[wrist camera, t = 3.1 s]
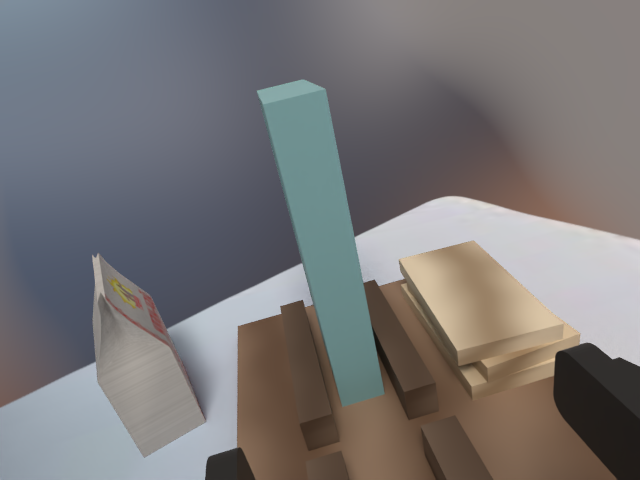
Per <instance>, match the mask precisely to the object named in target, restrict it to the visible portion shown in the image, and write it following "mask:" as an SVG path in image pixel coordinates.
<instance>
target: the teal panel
mask: <svg viewBox="0 0 640 480" xmlns="http://www.w3.org/2000/svg"><path fill="white" fill-rule="evenodd" d="M257 94H258V97H259V101H260V105H261V109H262V113H263V116H264V120H265V124H266V128H267V131H268V135H269V139H270V142H271V146H272V150H273V154H274V158H275V162H276V165H277V169H278V173H279V177H280V180H281V184H282V188H283V191H284V195H285V199H286V203H287V207H288V210H289V214H290V218H291V222H292V226H293V229H294V233H295V237H296V240H297V244H298V248H299V252H300V255H301V259H302V263H303V267H304V271H305V274H306V278H307V282H308V286H309V290H310V293H311V297H312V301H313V305H314V308H315V312H316V316H317V320H318V323H319V327H320V331H321V335H322V338H323V342H324V345H325V349H326V352H327V356H328V359H329V363H330V366H331V369H332V373H333V376H334V380H335V383H336V387H337V390H338V394H339V397H340V400H341V404H342V407H344V406H347V405H351V404H354V403H357V402H361V401H364V400H367V399H371V398H374V397H377V396H380V395H384V394H385V393H384V387H383V382H382V377H381V372H380V367H379V362H378V357H377V351H376V346H375V341H374V336H373V331H372V326H371V321H370V315H369V310H368V305H367V300H366V295H365V290H364V285H363V279H362V274H361V269H360V264H359V259H358V254H357V249H356V243H355V238H354V233H353V228H352V223H351V218H350V213H349V207H348V202H347V197H346V192H345V187H344V182H343V177H342V172H341V166H340V161H339V156H338V151H337V146H336V141H335V136H334V130H333V125H332V120H331V115H330V110H329V105H328V99H327V94H326V90H325V89H324V88H322V87H320V86H317V85H315V84H312V83H310V82H308V81H306V80H299V81H295V82H291V83H287V84H283V85H279V86H275V87H270V88H267V89H263V90H258V91H257Z"/></svg>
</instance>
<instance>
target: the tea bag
mask: <svg viewBox="0 0 640 480" xmlns="http://www.w3.org/2000/svg"><path fill="white" fill-rule="evenodd" d="M92 257H93V266H94V274H95V294H94V309H93V332H94V344H95V356H96V368H97V380H98V384H99V385H100V387H101V388H102V390H103V392H104V393H105V395H106V397H107V398H108V400H109V401H110V403H111V405H112V406H113V408H114V410H115V411H116V413H117V414H118V416H119V418H120V419H121V421H122V423H123V424H124V426H125V427H126V429H127V431H128V432H129V434H130V435H131V437H132V439H133V440H134V442H135V444H136V445H137V447H138V448H139V450H140V452H141V453H142V455H143V457H144V458H145V457H146V456H148V455H150V454H152V453H153V452H155V451H157V450H158V449H160V448H162V447H164V446H165V445H167V444H169V443H171V442H172V441H174V440H176V439H178V438H179V437H181V436H183V435H184V434H186V433H188V432H190V431H191V430H193V429H195V428H197V427H198V426H200V425H202V424H203V423H205V422H206V421H205V418H204V416H203V413H202V411H201V408H200V406H199V403H198V401H197V398H196V396H195V393H194V391H193V388H192V386H191V383H190V381H189V378H188V376H187V373H186V371H185V368H184V366H183V363H182V361H181V359H180V357H179V354H178V352H177V350H176V348H175V346H174V344H173V342H172V340H171V338H170V336H169V334H168V331H167V329H166V327H165V325H164V323H163V321H162V319H161V317H160V315H159V313H158V310H157V309H156V306H155V304H154V302H153V300H152V298H151V296H150V295H149V294H147V293H146V292H145V291H143V290H142V289H140V288H139V287H138V286H136V285H135V284H133V283H132V282H131V281H129V280H128V279H126V278H125V277H124V276H122V275H121V274H119V273H118V272H117V271H116V270H115V269H114V268H112V267H111V266H110V265H109V264H108V263H107V262H106V261H105V260H104V259H103V258H102V257H101V255H100V254H99V253H98V255H97V257H96V258H95V257H94V256H92Z"/></svg>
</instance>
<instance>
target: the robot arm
mask: <svg viewBox="0 0 640 480" xmlns="http://www.w3.org/2000/svg"><path fill="white" fill-rule="evenodd" d="M553 397H554V401H555V404H556V407H557V409H558V411H559V413H560V414H561V416H562V417H563V419H564V420H565V421H566V422H567V423H568V424H569V426H570V427H571V428H572V429H573V430H574V431H575V432H576V433H577V435H578V436H579V437H580V438H581V439H582V440H583V441H584V442H585V444H586V445H587V446H588V447H589V448H590V449H591V450H592V452H593V453H594V454H595V455H596V456H597V457H598V458H599V459H600V461H601V462H602V463H603V464H604V465H605V466H606V467H607V468H608V470H609V471H610V472H611V473H612V474H613V475H614V476H615V477H616V479H617V480H640V367H639V366H637V365H635V364H633V363H631V362H628V361H626V360H624V359H622V358H620V357H619V358H616V359H613V360H612V359H611V358H610V357H609V356H608V355H606V354H605V353H604V352H603V351H601V350H600V349H599V348H598V347H596V346H595V345H593V344H591V343H584V344H580V345H577V346H574V347H571V348H567V349H564V350H561V351H558V352H557V353H556V355H555V367H554V386H553ZM205 480H256V479H255V477H254V474H253V472H252V470H251V468H250V465H249V463H248V461H247V459H246V456H245V454H244V452H243V450H242V448H240V447H239V448H235V449H232V450H229V451H225V452H222V453H219V454H216V455H212V456H210V457H209V458H208V460H207V465H206V476H205Z"/></svg>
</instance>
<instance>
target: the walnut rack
mask: <svg viewBox="0 0 640 480" xmlns="http://www.w3.org/2000/svg"><path fill="white" fill-rule="evenodd" d="M405 283H407V281H406V279H403V280H399V281H396V282H392V283H389V284H385V285H382V286H378V285H377V283H376V281H375V280H372V281H368V282H365V283H363V285H364V290H365V295H366V300H367V305H368V310H369V315H370V321H371V326H372V331H373V336H374V341H375V346H376V351H377V357H378V362H379V367H380V372H381V377H382V382H383V387H384V393H385V394H384V395H380V396H377V397H374V398H371V399H367V400H364V401H361V402H357V403H354V404H351V405H347V406H344V407H342V404H341V400H340V397H339V394H338V390H337V387H336V383H335V380H334V376H333V373H332V369H331V366H330V363H329V359H328V356H327V352H326V349H325V345H324V342H323V338H322V335H321V331H320V327H319V323H318V320H317V316H316V312H315V308H314V305H311V306H308V307H305V306H304V302H303V300H301V301H297V302H294V303H290V304H287V305H283V306H280V307H281V313H282V314H279V315H276V316H272V317H269V318H265V319H262V320H258V321H255V322H251V323H248V324H244V325H241V326H238V403H237V448H239V447H240V448H242V450H243V452H244V454H245V456H246V459H247V461H248V463H249V465H250V468H251V470H252V472H253V474H254V477H255V479H256V480H617V479H616V477H615V476H614V475H613V474H612V473H611V472H610V471H609V470H608V468H607V467H606V466H605V465H604V464H603V463H602V462H601V461H600V459H599V458H598V457H597V456H596V455H595V454H594V453H593V452H592V450H591V449H590V448H589V447H588V446H587V445H586V444H585V442H584V441H583V440H582V439H581V438H580V437H579V436H578V435H577V433H576V432H575V431H574V430H573V429H572V428H571V427H570V426H569V424H568V423H567V422H566V421H565V420H564V419H563V417H562V416H561V414H560V413H559V411H558V409H557V407H556V404H555V401H554V397H553V386H554V376H551V377H548V378H545V379H542V380H538V381H535V382H532V383H529V384H525V385H522V386H519V387H516V388H512V389H509V390H506V391H503V392H499V393H496V394H493V395H490V396H486V397H483V398H480V399H477V400H473V401H472V399H471V398H470V396H469V395H468V393H467V392H466V390H465V389H464V387H463V386H462V384H461V383H460V381H459V380H458V378H457V377H456V375H455V374H454V372H453V371H452V369H451V368H450V366H449V365H448V363H447V362H446V360H445V359H444V357H443V356H442V354H441V353H440V351H439V350H438V348H437V347H436V345H435V344H434V342H433V341H432V339H431V338H430V336H429V335H428V333H427V332H426V330H425V329H424V327H423V326H422V324H421V323H420V321H419V320H418V318H417V317H416V315H415V314H414V313H413V311H412V310H411V308H410V307H409V305H408V304H407V302H406V301H405V299H404V298H403V296H402V289H401V284H405Z"/></svg>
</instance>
